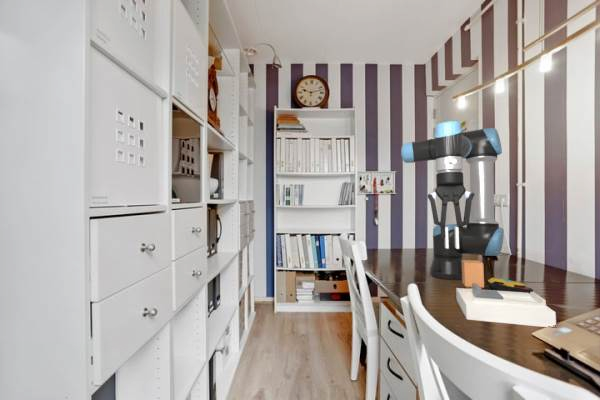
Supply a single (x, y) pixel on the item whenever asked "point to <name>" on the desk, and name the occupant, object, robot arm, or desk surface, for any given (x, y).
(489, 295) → the shutter
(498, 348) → the desk surface
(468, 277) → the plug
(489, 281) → the gadget
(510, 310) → the socket
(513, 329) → the desk surface
